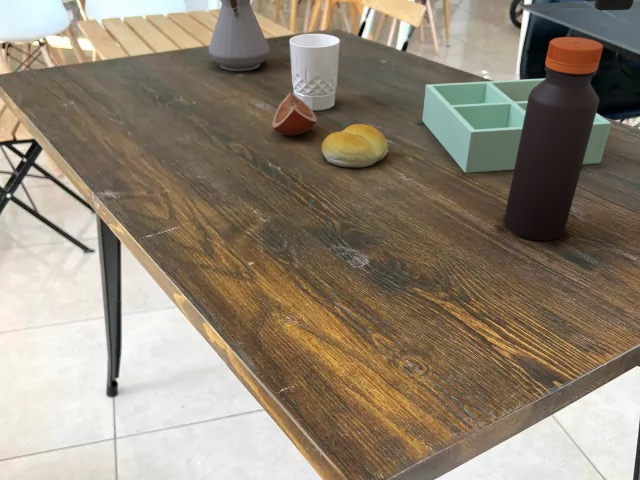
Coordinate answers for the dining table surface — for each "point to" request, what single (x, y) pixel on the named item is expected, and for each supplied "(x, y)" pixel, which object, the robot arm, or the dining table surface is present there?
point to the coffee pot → (238, 37)
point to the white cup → (315, 69)
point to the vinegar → (554, 140)
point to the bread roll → (355, 146)
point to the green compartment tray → (490, 123)
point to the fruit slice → (293, 116)
